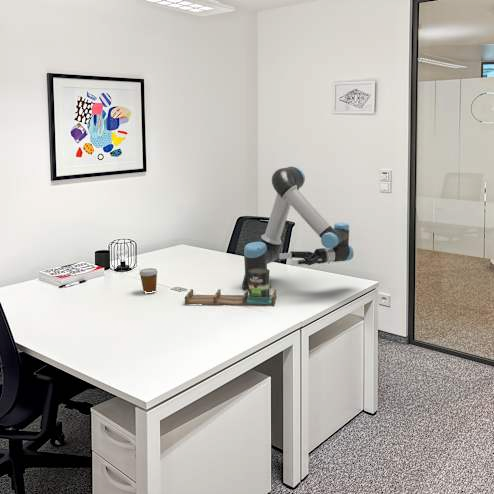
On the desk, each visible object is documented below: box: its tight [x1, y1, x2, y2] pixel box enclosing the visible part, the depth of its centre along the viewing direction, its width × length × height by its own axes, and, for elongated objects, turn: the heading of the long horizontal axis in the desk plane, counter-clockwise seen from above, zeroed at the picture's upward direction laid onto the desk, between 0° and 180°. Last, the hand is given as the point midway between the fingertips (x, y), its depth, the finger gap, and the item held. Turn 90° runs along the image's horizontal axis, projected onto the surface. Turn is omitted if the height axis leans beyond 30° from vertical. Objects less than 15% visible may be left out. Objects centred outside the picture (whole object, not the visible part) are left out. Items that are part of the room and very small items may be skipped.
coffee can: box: [248, 268, 271, 299], centre depth 288 cm, size 10×10×14 cm
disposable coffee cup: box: [139, 267, 159, 292], centre depth 310 cm, size 10×10×12 cm
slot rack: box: [184, 288, 277, 307], centre depth 291 cm, size 14×43×4 cm, turn 82°
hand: (285, 259), depth 290 cm, fingers open, 13 cm apart
